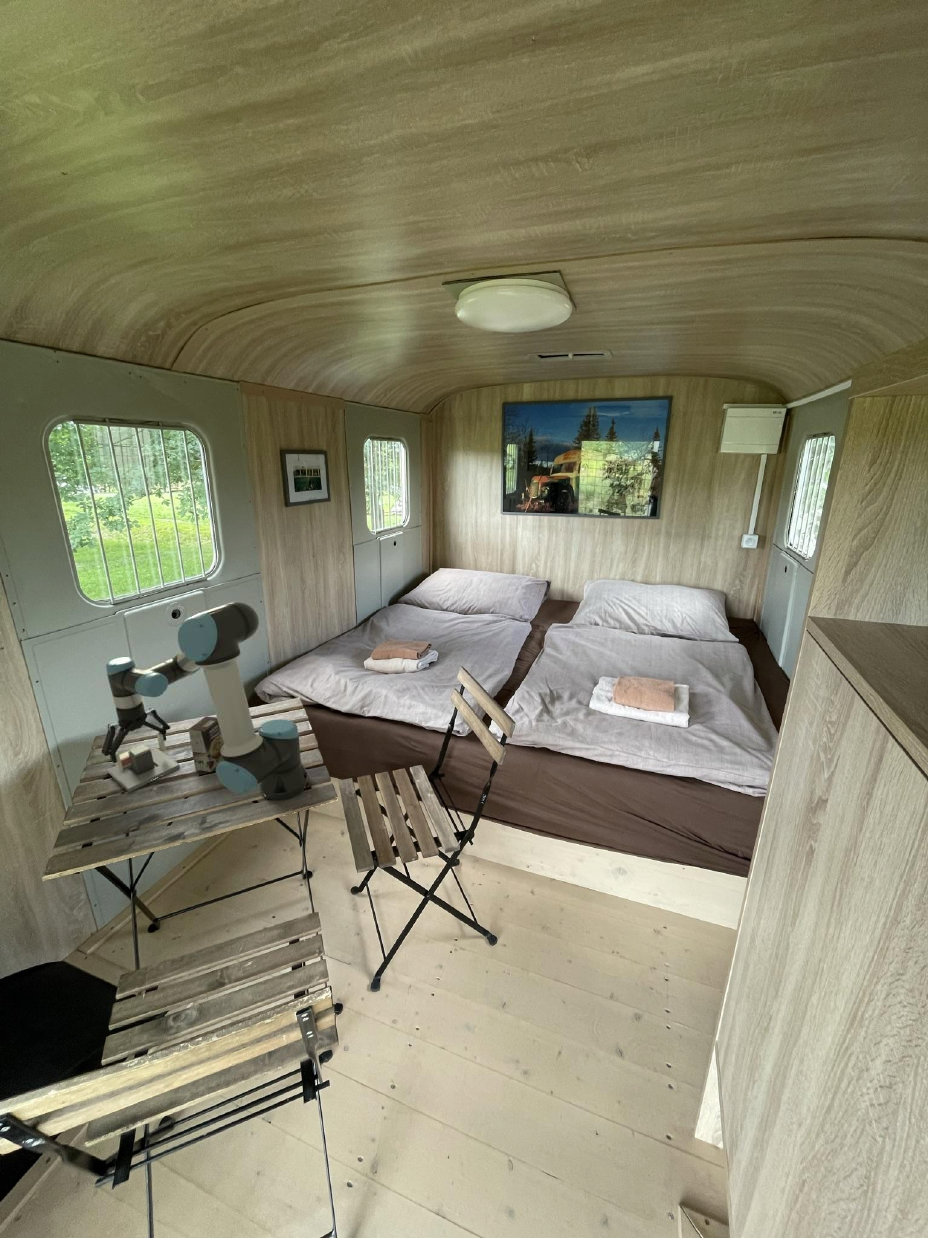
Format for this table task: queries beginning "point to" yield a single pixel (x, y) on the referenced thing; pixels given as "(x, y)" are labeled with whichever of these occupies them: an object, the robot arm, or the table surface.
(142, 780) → the socket plate
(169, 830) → the table surface
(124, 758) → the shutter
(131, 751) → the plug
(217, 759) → the coffee box
